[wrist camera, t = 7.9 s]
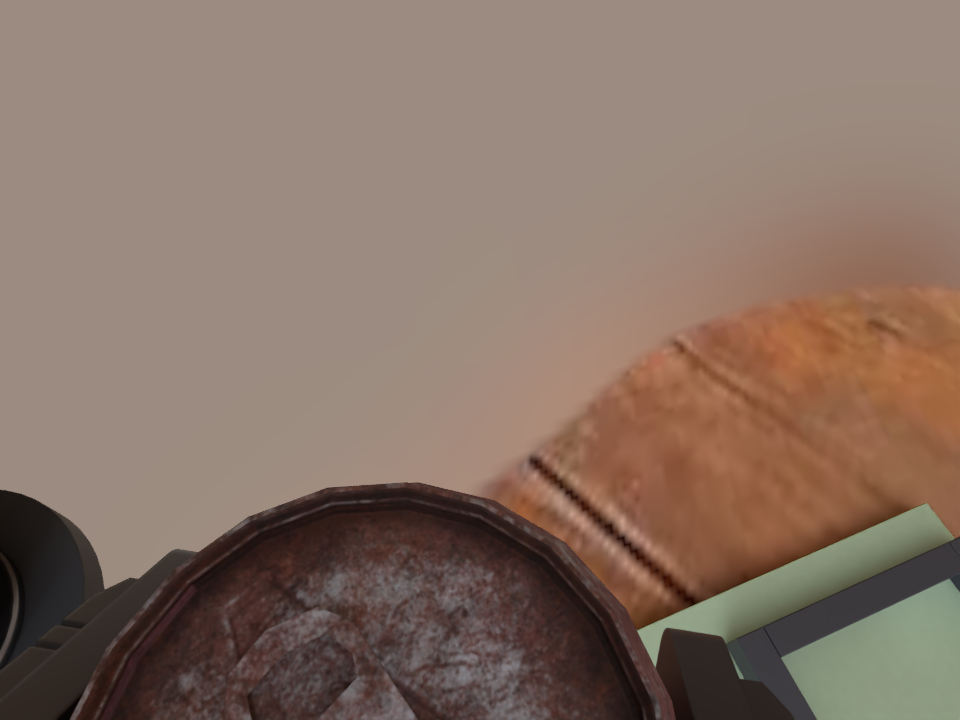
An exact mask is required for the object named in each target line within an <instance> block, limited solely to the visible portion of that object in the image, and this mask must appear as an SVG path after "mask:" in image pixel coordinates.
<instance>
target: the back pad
mask: <svg viewBox="0 0 960 720" xmlns="http://www.w3.org/2000/svg"><path fill="white" fill-rule="evenodd" d="M666 628H673V629H680V630H686V631H692V632H699V633H705V634H711V635H718V636H721V637H722V638H723V639H724V640H725V643H726V645H727V648H728V650H729V653H730V655H731V658H732V660H733V663H734V666H735V668H736V671H737V673H738V676H739V679H745V680H751V681H757V682H762V683H763V684H764V685H765V686H766V687H767V688H768V689H769V690H770V691H771V692H772V693H773V694H774V695H775V696H776V698H777V699H778V700H779V701H780V702H781V703H782V704H783V705H784V706H785V707H786V708H787V709H788V710H789V711H790V713H791V714H792V715H793V717H794V719H795V720H960V537H958V538H954V537H953V536H952V534H951V533H950V532H949V531H948V529H947V528H946V527H945V525H944V524H943V523H942V522H941V520H940V519H939V518H938V517H937V515H936V514H935V513H934V512H933V510H932V509H931V508H930V507H929V505H928V504H927V503H925V504H922V505H920V506H918V507H916V508H913V509H911V510H909V511H906V512H904V513H902V514H900V515H897V516H895V517H893V518H891V519H888V520H886V521H884V522H881V523H879V524H877V525H875V526H872V527H870V528H868V529H865V530H863V531H861V532H859V533H856V534H854V535H852V536H850V537H847V538H845V539H843V540H840V541H838V542H836V543H834V544H831V545H829V546H827V547H825V548H822V549H820V550H818V551H815V552H813V553H811V554H809V555H806V556H804V557H802V558H800V559H797V560H795V561H793V562H790V563H788V564H786V565H784V566H781V567H779V568H777V569H775V570H772V571H770V572H768V573H765V574H763V575H761V576H759V577H756V578H754V579H752V580H750V581H747V582H745V583H743V584H740V585H738V586H736V587H734V588H731V589H729V590H727V591H725V592H722V593H720V594H718V595H715V596H713V597H711V598H709V599H706V600H704V601H702V602H699V603H697V604H695V605H693V606H690V607H688V608H686V609H684V610H681V611H679V612H677V613H674V614H672V615H670V616H668V617H665V618H663V619H661V620H659V621H656V622H654V623H652V624H649V625H647V626H645V627H643V628H640V629H638V630H637V632H638V634H639V636H640V638H641V640H642V642H643V644H644V646H645V648H646V650H647V652H648V654H649V656H650V658H651V660H652V662H653V664H654V666H655V668H656V663H657V657H658V652H659V647H660V642H661V637H662V634H663V632H664V630H665V629H666Z"/></svg>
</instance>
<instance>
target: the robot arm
mask: <svg viewBox="0 0 960 720" xmlns="http://www.w3.org/2000/svg"><path fill="white" fill-rule="evenodd" d="M197 553H198V552H193V551H187V550H180V549H175V550H173V551H171V552H170V553H168V554H167V555H166V556H165V557H163V558H162V559H161V560H160V561H159V562H158V563H157V564H155V565H154V566H153V567H152V568H151V569H150V570H149V571H148V572H146V573H145V574H144V575H143V576H142V577H140V578H139V579H135V578H129V579H127V580H125V581H122V582H120V583H118V584H116V585H114V586H112V587H110V588H108V589H105V590H103V591H101V592H99V593H97V594H95V595H93V596H91V597H90V598H89V599H88V600H86V601H85V602H84V603H83V604H81V605H80V606H79V607H78V608H77V609H75V610H74V611H73V612H72V613H70V614H69V615H68V616H67V617H65V618H64V619H63V620H62V624H61V625H56V626H54V627H53V628H52V629H51V630H50V631H48V632H47V633H46V634H45V635H43V636H42V637H41V638H40V639H39V640H37V644H36V645H35V647H33V646H30V647H29V648H27V649H26V650H25V651H24V652H23V653H21V654H20V655H19V656H18V657H16V658H15V659H14V660H13V661H12V662H10V663H9V664H8V665H7V666H6V664H7V663H8V661H9V659H10V657H11V655H12V653H13V651H14V648H15V646H16V643H17V641H18V638H19V635H20V632H21V628H22V623H23V618H24V611H25V593H24V587H23V582H22V579H21V576H20V573H19V571H18V569H17V567H16V566H15V564H14V563H13V561H12V560H11V559H10V558H9V557H8V555H6V554H5V553H4V552H3V551H2V550H0V720H70V718H71V716H72V714H73V712H74V710H75V708H76V706H77V704H78V703H79V701H80V699H81V697H82V695H83V693H84V691H85V689H86V687H87V685H88V683H89V681H90V679H91V677H92V675H93V673H94V671H95V669H96V668H97V666H98V664H99V662H100V660H101V658H102V656H103V654H104V652H105V650H106V648H107V647H108V645H109V644H110V643H111V642H112V641H113V640H114V639H115V637H116V636H117V635H118V634H119V633H120V632H121V630H122V629H123V628H124V627H125V626H126V625H127V623H128V622H129V621H130V620H131V619H132V618H133V616H134V615H135V614H136V613H137V612H138V611H139V609H140V608H141V607H142V606H143V605H144V604H145V602H146V601H147V600H148V599H149V598H150V597H151V595H152V594H153V593H154V592H155V591H156V590H157V588H158V587H159V586H160V585H161V584H162V583H163V582H164V580H165V579H166V578H167V577H168V576H169V575H170V573H171V572H172V571H173V570H174V569H175V568H177V567H178V566H180V565H181V564H183V563H184V562H185V561H187V560H188V559H190V558H191V557H192V556H194V555H195V554H197ZM656 670H657V672H658V674H659V676H660V678H661V680H662V682H663V684H664V686H665V688H666V690H667V692H668V694H669V696H670V698H671V700H672V704H673V709H674V714H675V719H676V720H795V719H794V717H793V715H792V714H791V713H790V711H789V710H788V709H787V708H786V707H785V706H784V705H783V704H782V703H781V702H780V701H779V700H778V699H777V698H776V696H775V695H774V694H773V693H772V692H771V691H770V690H769V689H768V688H767V687H766V686H765V685H764V684H763V683H762V682H757V681H751V680H745V679H739V676H738V673H737V671H736V668H735V666H734V663H733V660H732V658H731V655H730V653H729V650H728V648H727V645H726V643H725V640H724V639H723V638H722V637H721V636H718V635H711V634H705V633H699V632H692V631H686V630H680V629H673V628H666V629H665V630H664V632H663V634H662V637H661V642H660V647H659V652H658V657H657V663H656Z"/></svg>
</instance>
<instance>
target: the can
mask: <svg viewBox="0 0 960 720" xmlns="http://www.w3.org/2000/svg"><path fill="white" fill-rule="evenodd" d="M70 720H676V719H675V714H674V709H673V704H672V700H671V698H670V696H669V694H668V692H667V690H666V688H665V686H664V684H663V682H662V680H661V678H660V676H659V674H658V672H657V670H656V668H655V666H654V664H653V662H652V660H651V658H650V656H649V654H648V652H647V650H646V648H645V646H644V644H643V642H642V640H641V638H640V636H639V634H638V632H637V630H636V628H635V626H634V624H633V622H632V620H631V618H630V616H629V614H628V612H627V610H626V608H625V607H624V606H623V605H622V604H621V603H620V602H619V601H618V600H617V599H616V597H615V596H614V595H613V594H612V593H611V592H610V591H609V590H608V589H607V588H606V587H605V585H604V584H603V583H602V582H601V581H600V580H599V579H598V578H597V577H596V576H595V574H594V573H593V572H592V571H591V570H590V569H589V568H588V567H587V566H586V565H585V564H584V562H583V561H582V560H581V559H580V558H579V557H578V556H577V555H576V554H575V553H574V552H573V550H572V549H571V548H570V547H569V546H568V545H567V544H566V543H565V542H563V541H562V540H560V539H558V538H557V537H555V536H553V535H552V534H550V533H548V532H547V531H545V530H543V529H542V528H540V527H538V526H537V525H535V524H533V523H531V522H530V521H528V520H526V519H525V518H523V517H521V516H520V515H518V514H516V513H515V512H513V511H511V510H510V509H508V508H506V507H505V506H503V505H501V504H500V503H498V502H496V501H494V500H490V499H486V498H481V497H477V496H473V495H469V494H465V493H460V492H456V491H452V490H447V489H443V488H439V487H435V486H431V485H426V484H422V483H392V484H377V485H362V486H348V487H333V488H326V489H323V490H320V491H317V492H315V493H312V494H309V495H307V496H304V497H301V498H298V499H296V500H293V501H290V502H287V503H285V504H282V505H279V506H277V507H274V508H271V509H268V510H266V511H263V512H260V513H258V514H255V515H252V516H250V517H248V518H246V519H245V520H243V521H242V522H240V523H239V524H238V525H236V526H235V527H233V528H232V529H231V530H229V531H228V532H226V533H225V534H223V535H222V536H221V537H219V538H218V539H216V540H215V541H214V542H213V543H211V544H210V545H208V546H207V547H205V548H204V549H202V550H201V551H200V552H198V553H197V554H195V555H194V556H192V557H191V558H190V559H188V560H187V561H185V562H184V563H183V564H181V565H180V566H178V567H177V568H175V569H174V570H173V571H172V572H171V573H170V575H169V576H168V577H167V578H166V579H165V580H164V582H163V583H162V584H161V585H160V586H159V587H158V588H157V590H156V591H155V592H154V593H153V594H152V595H151V597H150V598H149V599H148V600H147V601H146V602H145V604H144V605H143V606H142V607H141V608H140V609H139V611H138V612H137V613H136V614H135V615H134V616H133V618H132V619H131V620H130V621H129V622H128V623H127V625H126V626H125V627H124V628H123V629H122V630H121V632H120V633H119V634H118V635H117V636H116V637H115V639H114V640H113V641H112V642H111V643H110V644H109V645H108V647H107V648H106V650H105V652H104V654H103V656H102V658H101V660H100V662H99V664H98V666H97V668H96V669H95V671H94V673H93V675H92V677H91V679H90V681H89V683H88V685H87V687H86V689H85V691H84V693H83V695H82V697H81V699H80V701H79V703H78V704H77V706H76V708H75V710H74V712H73V714H72V716H71V718H70Z"/></svg>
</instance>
